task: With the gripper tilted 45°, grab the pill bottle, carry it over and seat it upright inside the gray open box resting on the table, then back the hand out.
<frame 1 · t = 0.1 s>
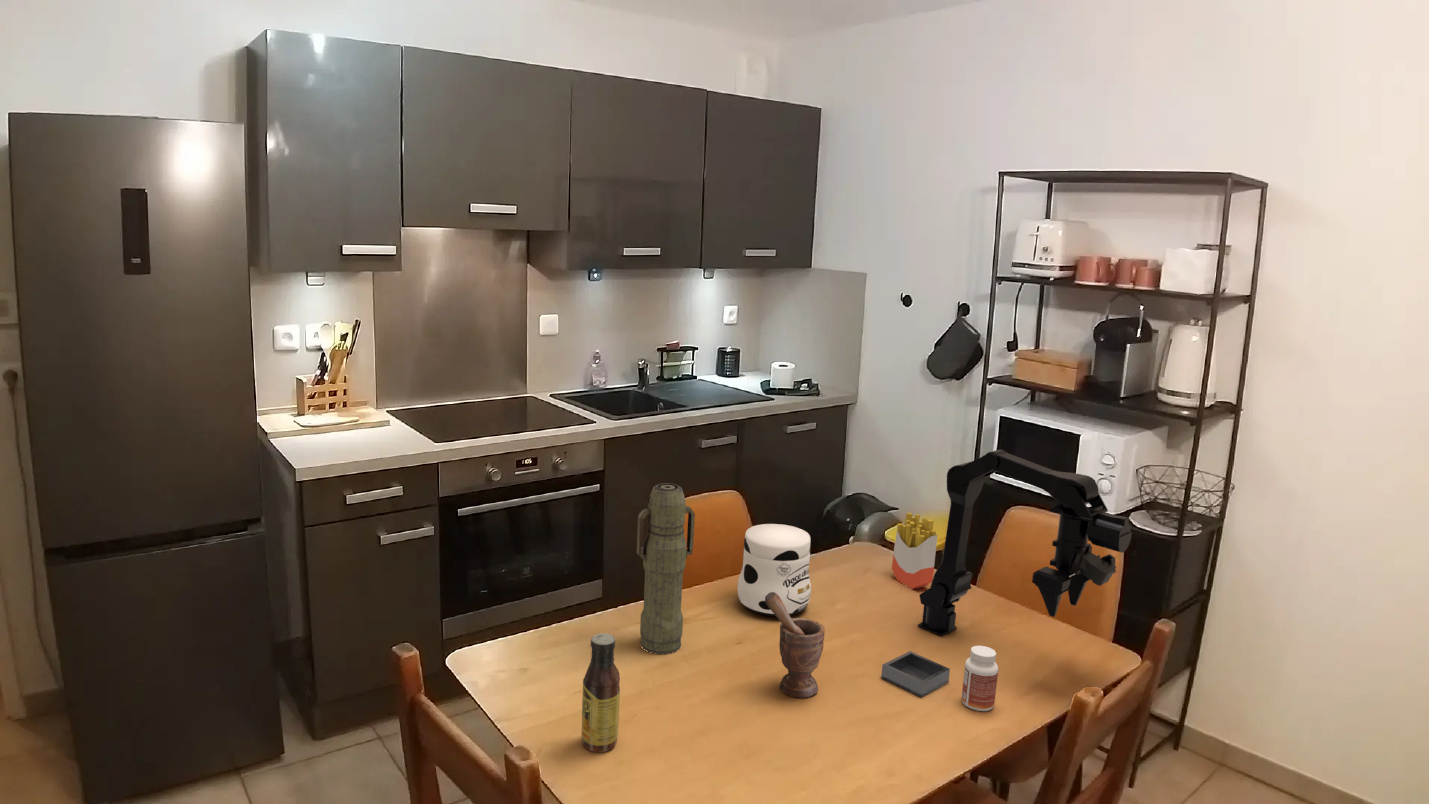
hand: (1062, 610, 184), 15 cm above the table, tool pointing down, fingers open, 9 cm apart
sauce bottle: (599, 745, 154), on the table
french fries container: (910, 584, 232), on the table
milk container: (772, 607, 214), on the table
thermos: (660, 645, 192), on the table
mortar and pestle: (790, 691, 176), on the table
gray open box: (914, 680, 183), on the table
pill bottle: (977, 704, 175), on the table
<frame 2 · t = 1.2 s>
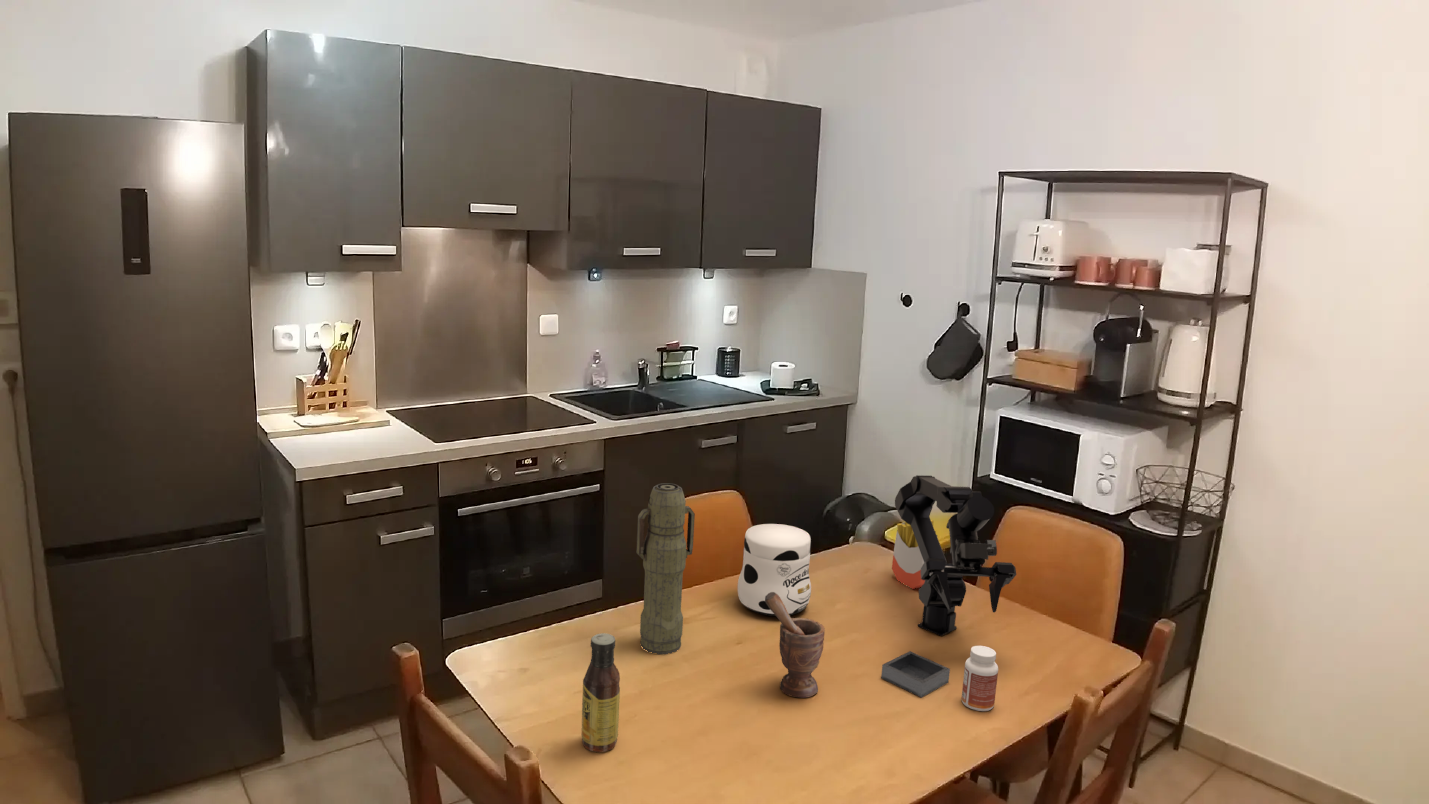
hand: (972, 610, 185), 13 cm above the table, tool tilted 45°, fingers open, 9 cm apart
nothing on the table moved.
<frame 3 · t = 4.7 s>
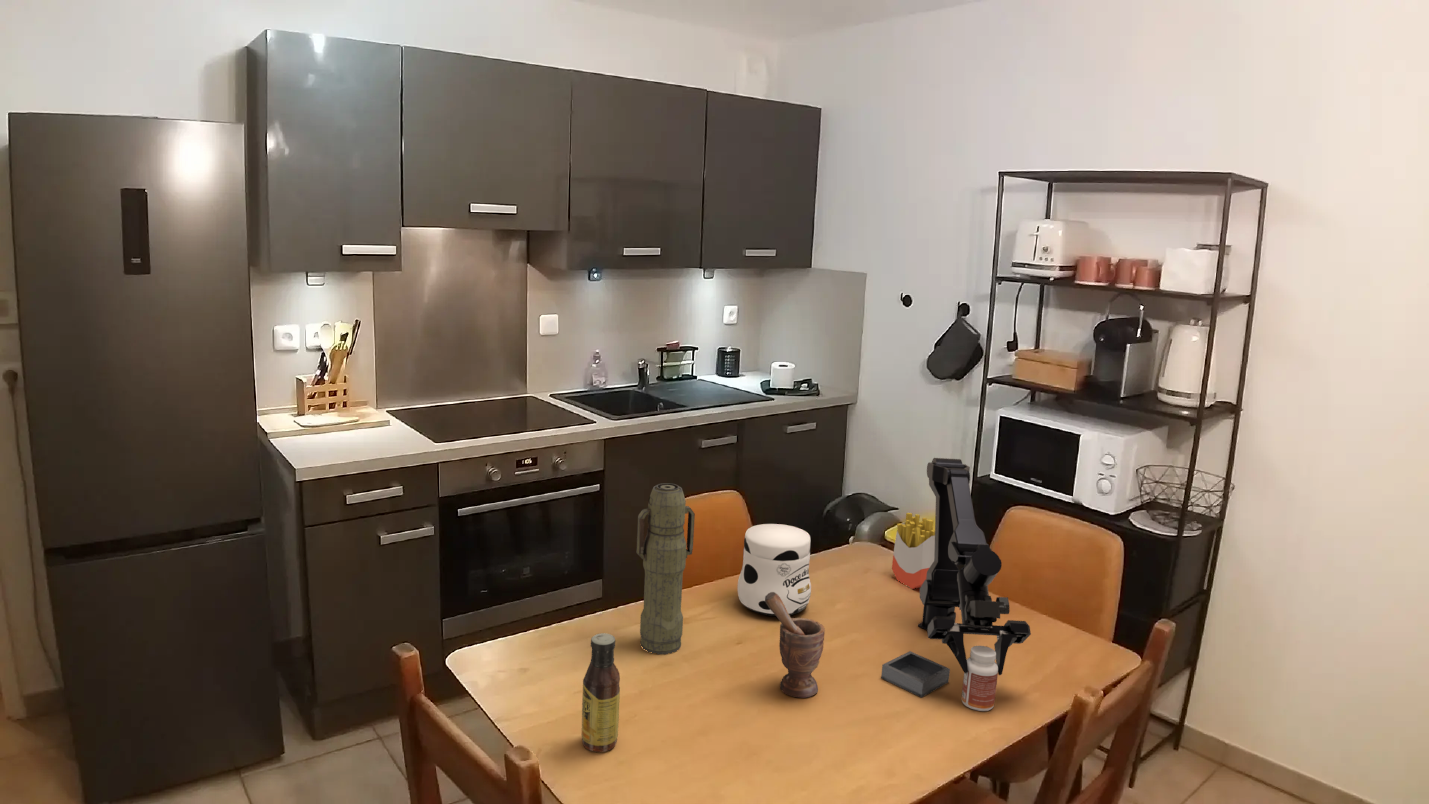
hand: (983, 673, 172), 7 cm above the table, tool tilted 45°, fingers closed on pill bottle, 6 cm apart
pill bottle: (977, 704, 175), on the table, touching gripper
everything else where it was.
when the fingers open (8 cm above the table, at t = 9.3 s): pill bottle stays where it is, resting on gray open box.
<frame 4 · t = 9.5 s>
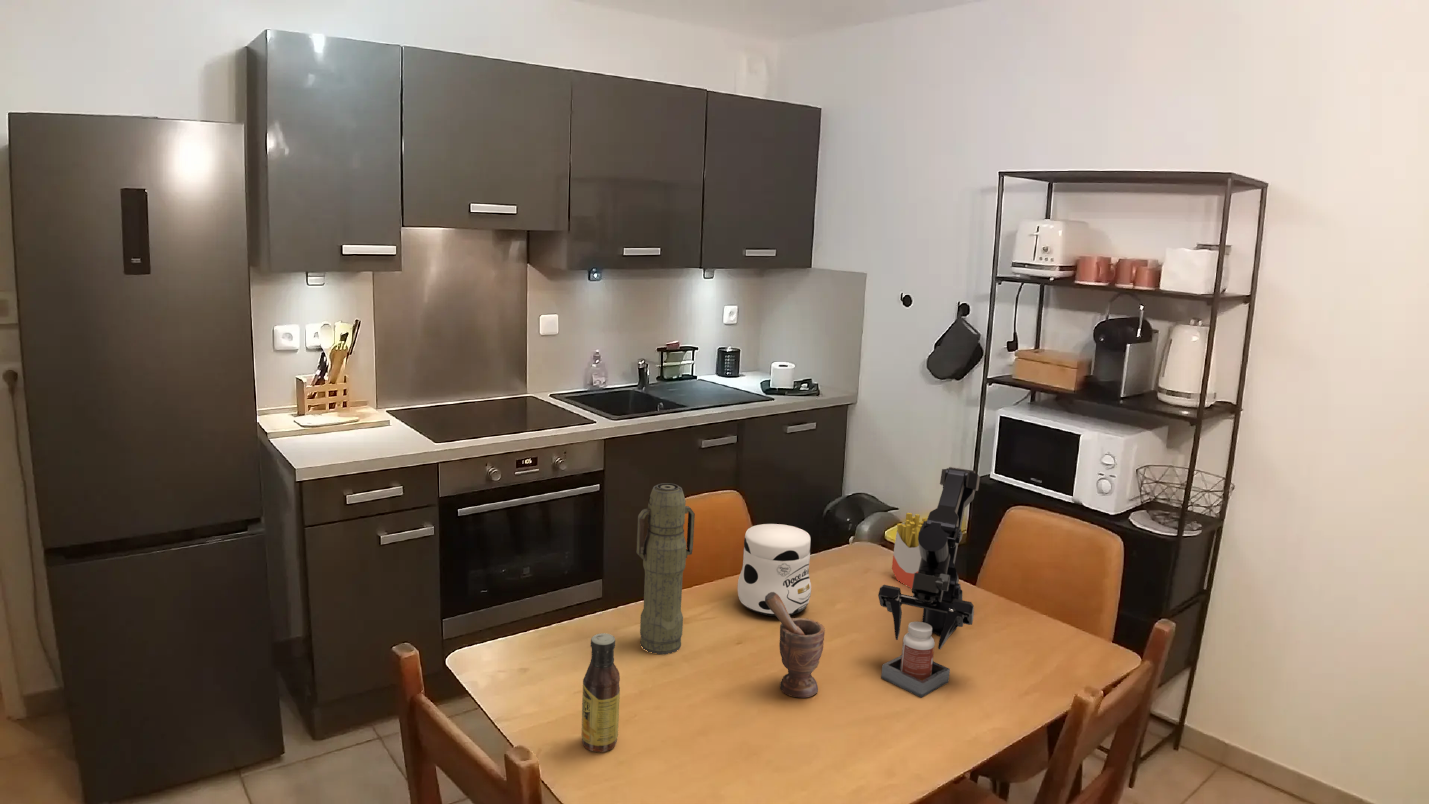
hand: (917, 643, 180), 9 cm above the table, tool tilted 45°, fingers open, 8 cm apart
gray open box: (914, 680, 183), on the table, touching pill bottle
pill bottle: (915, 678, 183), resting on gray open box
everything else where it was.
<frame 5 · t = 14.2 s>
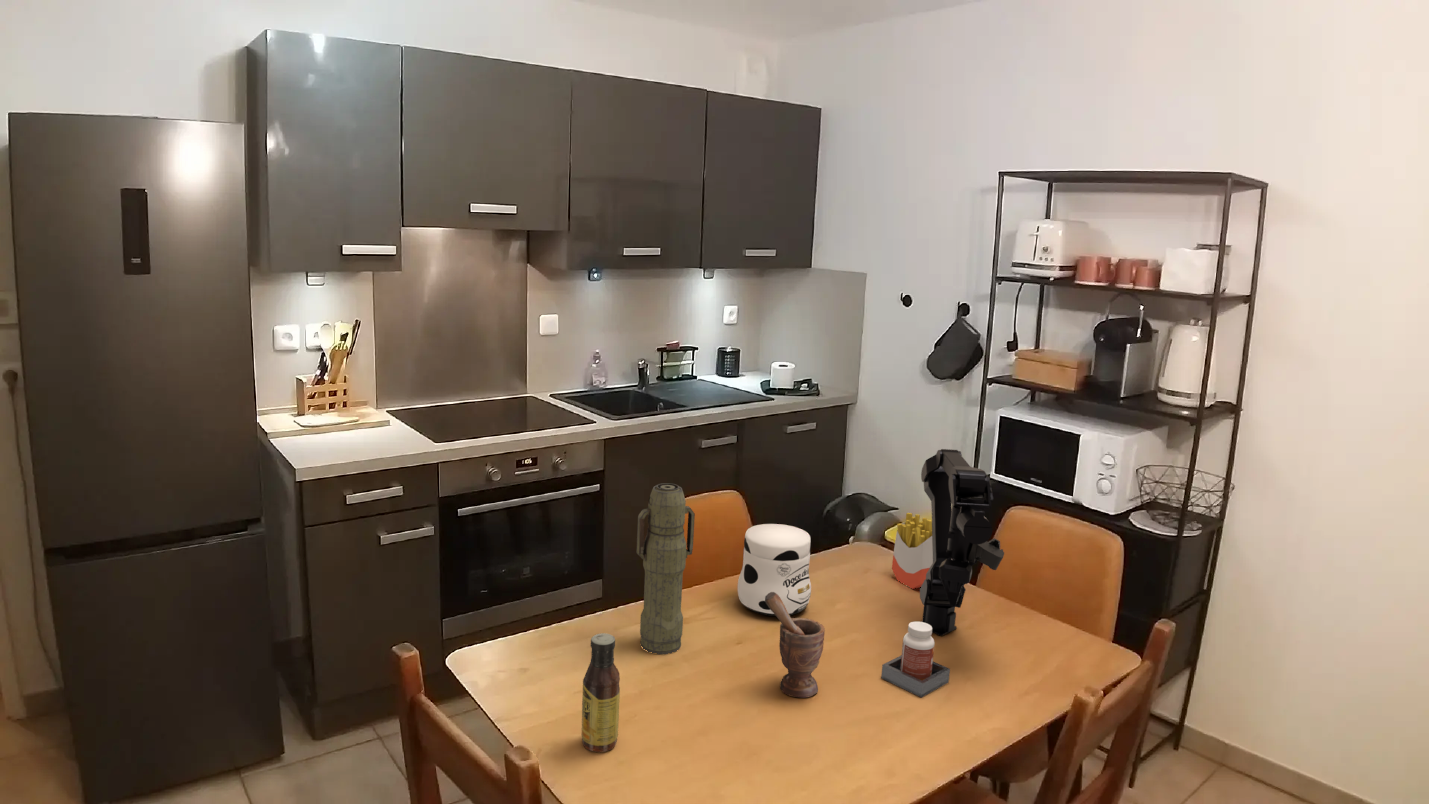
hand: (956, 597, 192), 13 cm above the table, tool pointing down, fingers open, 9 cm apart
nothing on the table moved.
at the end: pill bottle 0.2 cm off-centre on the gray open box, point 0.4 cm above the gray open box's base; pill bottle tilted 0°; gray open box moved 0.0 cm from its start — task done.
